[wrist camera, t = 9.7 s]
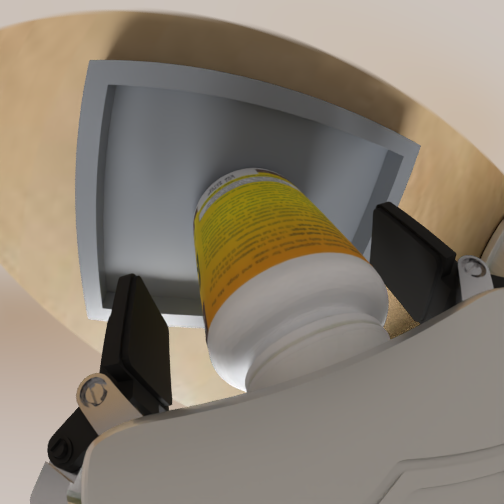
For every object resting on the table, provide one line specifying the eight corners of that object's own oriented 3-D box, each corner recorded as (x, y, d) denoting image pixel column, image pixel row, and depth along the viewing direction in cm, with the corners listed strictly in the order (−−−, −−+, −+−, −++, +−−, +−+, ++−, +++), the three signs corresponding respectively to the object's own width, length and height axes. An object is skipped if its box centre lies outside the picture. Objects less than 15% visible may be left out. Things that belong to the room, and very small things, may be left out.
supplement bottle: (169, 206, 13) (167, 427, 4) (271, 143, 12) (443, 283, 4) (229, 280, 16) (280, 459, 8) (314, 230, 15) (428, 383, 7)
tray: (398, 136, 14) (420, 145, 12) (325, 307, 20) (336, 326, 18) (103, 64, 9) (89, 60, 7) (94, 295, 15) (88, 319, 13)
